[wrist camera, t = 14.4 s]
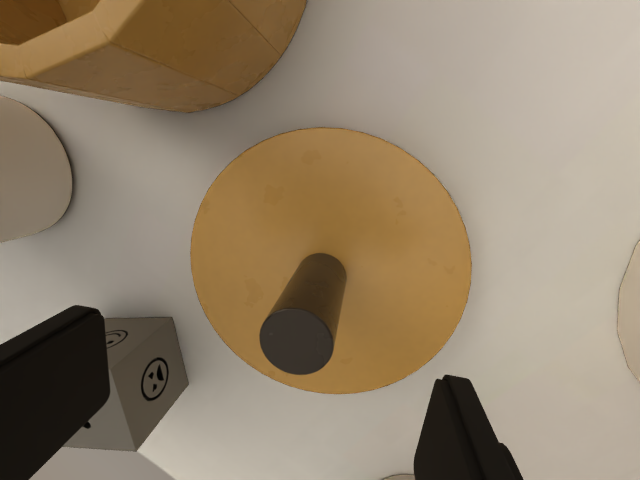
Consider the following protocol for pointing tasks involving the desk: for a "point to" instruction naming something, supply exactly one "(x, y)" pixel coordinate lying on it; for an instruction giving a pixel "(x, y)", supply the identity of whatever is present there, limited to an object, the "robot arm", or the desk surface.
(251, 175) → the tan wooden disc
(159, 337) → the dice cube
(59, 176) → the pill bottle
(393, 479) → the spray can
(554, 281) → the desk surface
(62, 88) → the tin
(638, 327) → the cylinder
